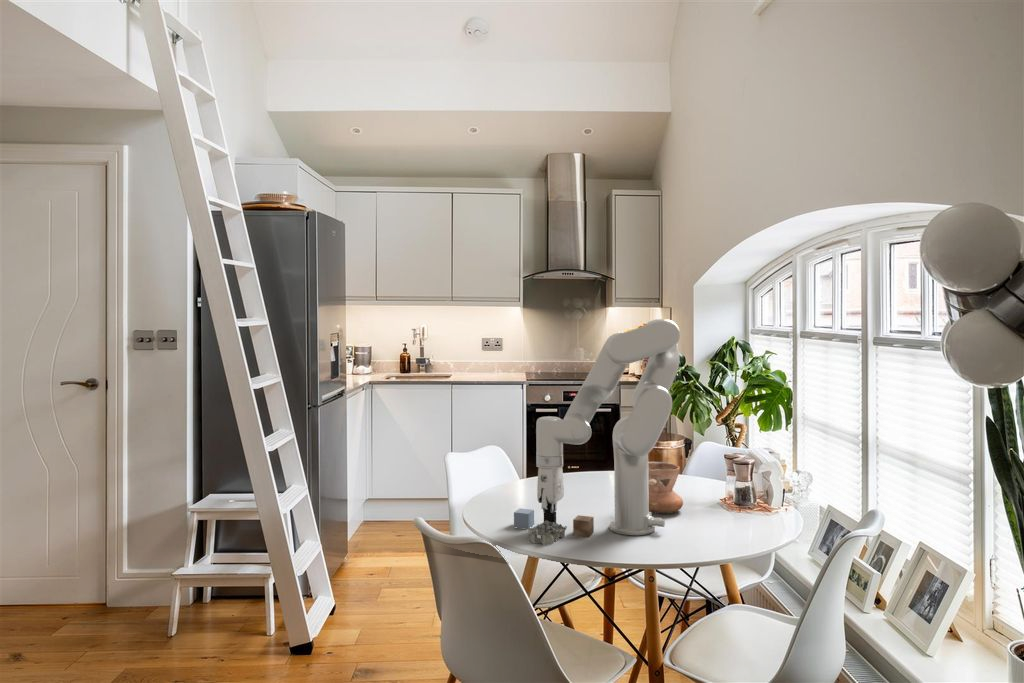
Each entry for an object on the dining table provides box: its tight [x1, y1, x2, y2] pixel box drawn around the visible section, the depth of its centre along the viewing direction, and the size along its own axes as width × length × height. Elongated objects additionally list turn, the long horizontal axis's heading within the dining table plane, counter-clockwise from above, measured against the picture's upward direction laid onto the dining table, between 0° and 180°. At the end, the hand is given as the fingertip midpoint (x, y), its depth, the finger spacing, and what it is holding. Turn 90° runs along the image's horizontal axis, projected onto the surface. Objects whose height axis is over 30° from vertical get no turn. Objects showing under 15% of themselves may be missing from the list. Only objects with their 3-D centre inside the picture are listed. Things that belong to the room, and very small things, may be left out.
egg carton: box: [527, 520, 568, 546], centre depth 173 cm, size 11×8×4 cm
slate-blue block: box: [513, 507, 535, 530], centre depth 184 cm, size 4×4×4 cm
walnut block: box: [572, 514, 595, 538], centre depth 176 cm, size 4×4×4 cm
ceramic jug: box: [648, 461, 684, 515], centre depth 199 cm, size 18×14×14 cm
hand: (549, 525), depth 180 cm, fingers closed
